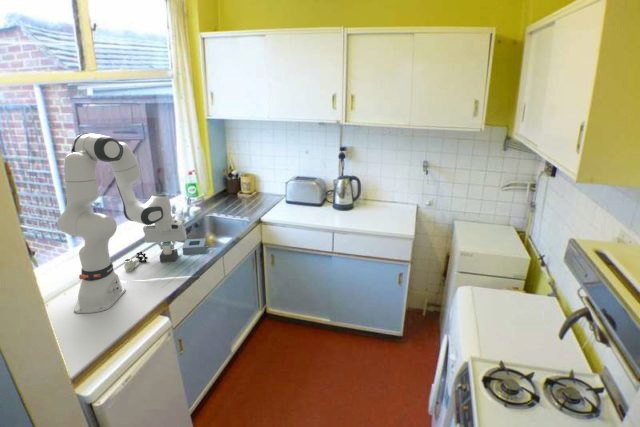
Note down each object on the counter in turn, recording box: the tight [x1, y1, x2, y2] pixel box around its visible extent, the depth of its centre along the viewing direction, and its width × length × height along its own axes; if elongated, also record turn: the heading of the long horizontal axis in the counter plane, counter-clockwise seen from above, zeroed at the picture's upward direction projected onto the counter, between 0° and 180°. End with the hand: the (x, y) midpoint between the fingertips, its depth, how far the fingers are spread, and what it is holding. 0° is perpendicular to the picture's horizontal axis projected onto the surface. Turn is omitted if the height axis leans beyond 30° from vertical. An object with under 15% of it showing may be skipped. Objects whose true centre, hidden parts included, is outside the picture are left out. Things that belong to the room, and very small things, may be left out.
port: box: [181, 237, 208, 256], centre depth 214 cm, size 11×11×5 cm
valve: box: [123, 251, 149, 272], centre depth 196 cm, size 7×7×12 cm
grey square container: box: [159, 248, 179, 263], centre depth 204 cm, size 7×7×4 cm
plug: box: [161, 241, 173, 255], centre depth 203 cm, size 4×4×9 cm
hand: (167, 248), depth 203 cm, fingers closed on plug, 4 cm apart
